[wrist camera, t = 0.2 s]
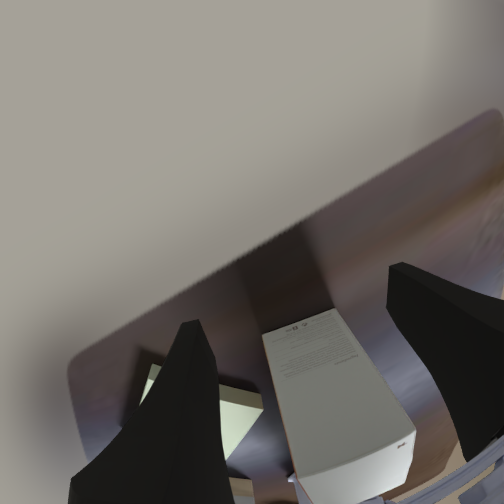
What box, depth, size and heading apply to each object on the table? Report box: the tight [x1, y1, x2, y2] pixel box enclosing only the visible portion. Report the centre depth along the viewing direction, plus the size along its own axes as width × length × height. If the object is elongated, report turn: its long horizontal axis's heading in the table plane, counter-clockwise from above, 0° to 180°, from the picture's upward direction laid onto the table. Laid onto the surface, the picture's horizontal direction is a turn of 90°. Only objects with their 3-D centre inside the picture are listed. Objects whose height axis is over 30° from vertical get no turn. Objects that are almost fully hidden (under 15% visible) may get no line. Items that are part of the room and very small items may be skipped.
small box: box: [262, 308, 416, 504], centre depth 18 cm, size 8×6×13 cm
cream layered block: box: [229, 477, 255, 504], centre depth 27 cm, size 4×7×6 cm, turn 66°
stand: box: [140, 364, 264, 460], centre depth 24 cm, size 12×10×2 cm
